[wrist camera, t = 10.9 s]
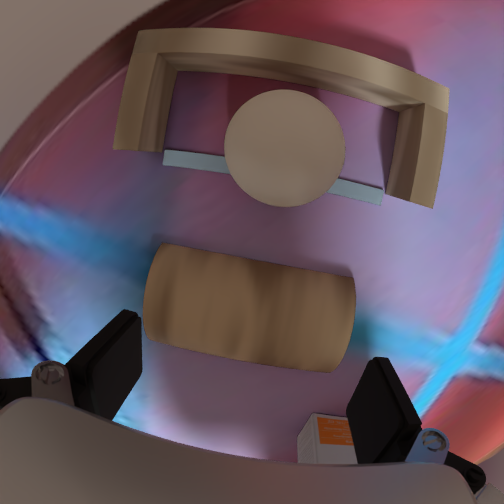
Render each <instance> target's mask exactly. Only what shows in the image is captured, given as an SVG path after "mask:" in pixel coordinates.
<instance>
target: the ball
mask: <svg viewBox="0 0 504 504" xmlns="http://www.w3.org/2000/svg"><path fill="white" fill-rule="evenodd" d="M224 154H225V159H226V163H227V166H228V169H229V171H230V174H231V176H232V177H233V179H234V180H235V182H236V183H237V184H238V185H239V187H240V188H241V189H242V190H243V191H245V192H246V193H247V194H248V195H250V196H251V197H252V198H254V199H256V200H258V201H260V202H263V203H265V204H268V205H272V206H278V207H294V206H300V205H304V204H307V203H309V202H312V201H314V200H315V199H317V198H319V197H320V196H322V195H323V194H324V193H326V192H327V191H328V190H329V189H330V188H331V187H332V185H333V184H334V183H335V181H336V180H337V178H338V177H339V175H340V172H341V170H342V167H343V164H344V159H345V140H344V136H343V132H342V129H341V126H340V124H339V122H338V120H337V119H336V117H335V116H334V114H333V113H332V112H331V111H330V109H329V108H328V107H327V106H326V105H324V104H323V103H322V102H321V101H319V100H318V99H316V98H314V97H313V96H310V95H308V94H306V93H303V92H299V91H295V90H281V89H280V90H272V91H268V92H264V93H262V94H259V95H257V96H255V97H253V98H251V99H250V100H248V101H247V102H246V103H244V104H243V105H242V106H241V107H240V108H239V109H238V110H237V112H236V113H235V114H234V116H233V117H232V119H231V121H230V123H229V125H228V128H227V130H226V135H225V141H224Z"/></svg>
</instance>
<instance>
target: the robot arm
mask: <svg viewBox="0 0 504 504" xmlns="http://www.w3.org/2000/svg"><path fill="white" fill-rule="evenodd" d="M141 373H142V331H141V318H140V317H138V314H137V313H136V312H133V311H129V310H126V309H124V310H122V311H121V312H120V313H119V314H118V315H117V316H116V317H115V318H113V319H112V320H111V321H110V322H109V323H108V324H107V325H106V326H105V327H104V328H103V329H102V330H101V331H100V332H99V333H98V334H96V335H95V336H94V337H93V338H92V339H91V340H90V341H89V342H88V343H87V344H86V345H85V346H84V347H83V348H81V349H80V350H79V351H78V352H77V353H76V354H75V355H74V356H73V357H72V358H71V359H70V360H69V361H68V362H67V363H66V364H65V365H63V364H62V363H60V362H57V361H43V362H41V363H39V364H37V365H36V366H35V367H34V368H33V370H32V374H31V377H21V378H9V379H0V504H504V494H503V493H501V492H500V491H499V490H498V489H497V488H496V487H494V486H493V485H492V484H491V483H488V484H487V485H486V484H485V482H486V476H485V473H484V471H483V470H482V469H481V468H480V467H479V466H477V465H475V464H473V463H471V462H469V461H467V460H465V459H463V458H461V457H459V456H457V455H455V454H453V453H451V452H449V451H448V450H449V440H448V438H447V436H446V435H445V434H444V433H443V432H441V431H439V430H437V429H434V428H426V429H423V430H422V428H421V424H422V422H421V420H420V418H419V416H418V414H417V412H416V410H415V408H414V406H413V404H412V402H411V400H410V398H409V396H408V394H407V392H406V390H405V389H404V387H403V385H402V383H401V381H400V379H399V377H398V375H397V373H396V372H395V370H394V368H393V366H392V364H391V362H390V360H389V359H388V358H384V357H374V358H373V359H372V360H369V362H368V364H367V366H366V368H365V370H364V372H363V375H362V377H361V379H360V381H359V383H358V385H357V387H356V389H355V391H354V394H353V396H352V398H351V400H350V401H349V403H348V405H347V409H346V415H347V419H348V423H349V427H350V431H351V436H352V440H353V444H354V449H355V453H356V458H357V463H358V464H311V463H295V462H283V461H273V460H265V459H257V458H250V457H243V456H237V455H232V454H226V453H221V452H216V451H211V450H207V449H202V448H198V447H194V446H190V445H186V444H182V443H178V442H174V441H171V440H167V439H164V438H161V437H157V436H154V435H151V434H148V433H145V432H142V431H139V430H136V429H133V428H130V427H127V426H124V425H122V424H119V423H116V422H114V421H112V420H113V418H114V417H115V415H116V413H117V412H118V410H119V409H120V407H121V406H122V404H123V402H124V401H125V399H126V398H127V396H128V395H129V393H130V391H131V390H132V388H133V387H134V385H135V384H136V382H137V381H138V379H139V378H140V376H141Z"/></svg>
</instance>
